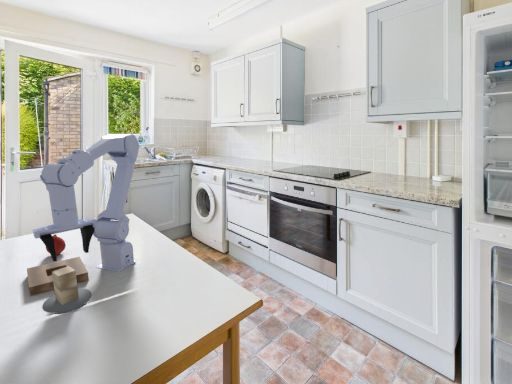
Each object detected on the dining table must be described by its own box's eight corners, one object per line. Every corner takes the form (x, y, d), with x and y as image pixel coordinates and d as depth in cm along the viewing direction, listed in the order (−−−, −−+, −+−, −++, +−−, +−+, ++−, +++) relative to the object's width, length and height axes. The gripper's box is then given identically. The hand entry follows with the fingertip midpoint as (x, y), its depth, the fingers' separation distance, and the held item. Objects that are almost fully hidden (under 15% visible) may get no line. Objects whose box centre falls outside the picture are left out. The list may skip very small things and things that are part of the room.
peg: (72, 293, 81) (68, 266, 80) (78, 298, 79) (75, 270, 77) (55, 299, 78) (51, 271, 77) (62, 305, 76) (58, 276, 74)
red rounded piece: (44, 259, 103) (41, 238, 101) (50, 253, 108) (47, 232, 107) (63, 258, 104) (60, 236, 103) (68, 251, 110) (66, 231, 108)
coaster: (101, 294, 82) (101, 292, 82) (65, 317, 72) (65, 315, 72) (70, 287, 85) (70, 285, 85) (32, 309, 75) (31, 307, 75)
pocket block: (80, 264, 99) (79, 256, 99) (89, 281, 89) (87, 272, 88) (28, 277, 91) (26, 268, 90) (30, 297, 80) (28, 287, 79)
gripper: (88, 201, 87) (94, 244, 90) (27, 210, 77) (35, 259, 80) (97, 205, 82) (102, 251, 85) (33, 216, 72) (41, 268, 75)
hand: (70, 255), depth 82 cm, fingers open, 7 cm apart
